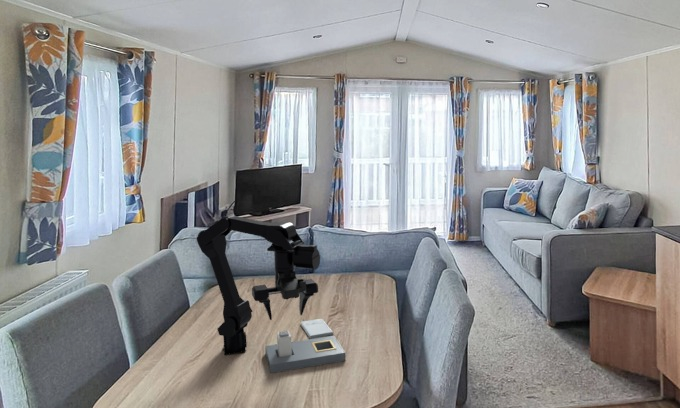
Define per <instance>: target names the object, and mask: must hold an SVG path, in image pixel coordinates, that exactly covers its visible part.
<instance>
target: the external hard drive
mask: <svg viewBox="0 0 680 408" xmlns="http://www.w3.org/2000/svg"><path fill="white" fill-rule="evenodd" d="M299 324H300V326H301V328H303V329H302V330H304V331H305V334H306V335H307V336H308V338H309V339H315V338H322V337H328V336H335V335H334V334H335V333H334V331H333V330H332V329H331V327H329V325H328V324H327V323H326V322H325V320H324V319H323V318H317V319H310V320H304V321H303V320H302V321H301V322H300V323H299Z"/></svg>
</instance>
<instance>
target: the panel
mask: <svg viewBox="0 0 680 408" xmlns="http://www.w3.org/2000/svg"><path fill="white" fill-rule="evenodd" d="M291 345H292V355H291V356H284V357H278V344H277V343H276V344H270V345H265V346H264V347H265V348H264V349H265V357H266V360H267V363H268V367H269V368H268V369H269V371H270V374H272V373H273V374H274V373H279V372H280V373H281V372H285V371H291V370H298V369H303V368H310V367H316V366H320V365H327V364H328V365H329V364H333V363H339V362H344V361H346V351H345V349H343V347H342V346H341V344H340V342H339V341H338V339H337V338H336V336H335V335H329V336H324V337H318V338H313V339H310V338H309V339H308V338H307V339H303V340H296V341H291Z"/></svg>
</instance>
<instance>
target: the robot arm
mask: <svg viewBox="0 0 680 408" xmlns="http://www.w3.org/2000/svg"><path fill="white" fill-rule="evenodd" d="M231 232H238V233H242V234H248V235H252V236H256V237H261V238H263V239H265V240H266V241H267V242H268V243H271V244H270V246H269V247H268V248H266V250H267V251H268V252H273V253H274V254H273V256H274V257H273V258H274V259H273V260H274V286H273V287H267V285H266V284H258V285H253V286H252V287H251V296H252V299H253V300H254V301H255V302H259V304H263V305H264V307H265V311H266V313H267V316H268V318H269V320H270V321H272V316H273V315H272V309H271V299H270V295H276V294H277V295H278V294H281V298H282V300H289V299H298V298H299V299H298V301H299V307H298V308H299V315H300V316H303V313H304V311H305V308H306V306H307V305H306V304H307V302H308V300H309V299H310V298H311V297H313V296H314V295H315V294H317V293H319V286H318V285H319V284H318V283H317V282H316V281H315V280H313V278H308V279H307V278H306V279H305V278H297V276H296V275H297V274H296V270H295V267H296V268H298V269H307V270H317V269H318V268H319V267H320V263H321V254H320V250H318V246H317V245H316V244H310V245H309V244H305V243H304V240H303V239H302V237H300V235H299V234H298V232H297V229H296V226H294V224H293V223H292V222H289V221H277V222H276V221H275V222H265V221H262V220H255V219H250V218H246V217H240V216H238V215H237V216H236V215H234V214H230V215H229V214H228V215H225V216H222V217H221V218H220V219H218V221H216V222H215V223H214V224H212V225H211V226H209V227H207V229H206V228H205V229H203V230H200V231H199V233H198V235H197V236H196V243H197V244H198V246H199V249H200V251H201V253H202V254H204V255H205V256H206V257H207V258H208V259H209V261H210V264H211V267H212V270H213V274H214V276H215V279H216V282H217V285H218V288H219V292H220V293H221V297H222V300H223V311H222V316H223V317H222V318H223V322H222V323H221V325H220V326H219V327H217V329H216V330H217V333H218V335H219V336H222V338H223V355H224V356H227V355H232V354H233V355H234V354H240V353H246V351H247V350H246V348H247V345H248V343H247V333H246V332H245V330H244V329H245V328H246V327H247V326H248V324H249V323H250V321H251V319H252V318H253V314H252V312H253V309H252V308H251V304H250V301H249V299H246V300H244V299H243V298H242V297H241V295H240V293H239V291H238V288H237V285H236V281H235V277H234V275H233V273H232V270H231V266H230V264H229V261H228V258H227V255H226V250H227V245H228V244H227V240H226V237H227V236H228V235H230V233H231ZM290 242H291V243H290Z"/></svg>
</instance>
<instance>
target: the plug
mask: <svg viewBox="0 0 680 408" xmlns="http://www.w3.org/2000/svg"><path fill="white" fill-rule="evenodd" d="M276 339H277V343H276V344H278V357H284V356H291V355H292V345H291V342H292V335H291V333H290V331H288V330H284V331H282V330H281V331H278V333H276Z"/></svg>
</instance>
